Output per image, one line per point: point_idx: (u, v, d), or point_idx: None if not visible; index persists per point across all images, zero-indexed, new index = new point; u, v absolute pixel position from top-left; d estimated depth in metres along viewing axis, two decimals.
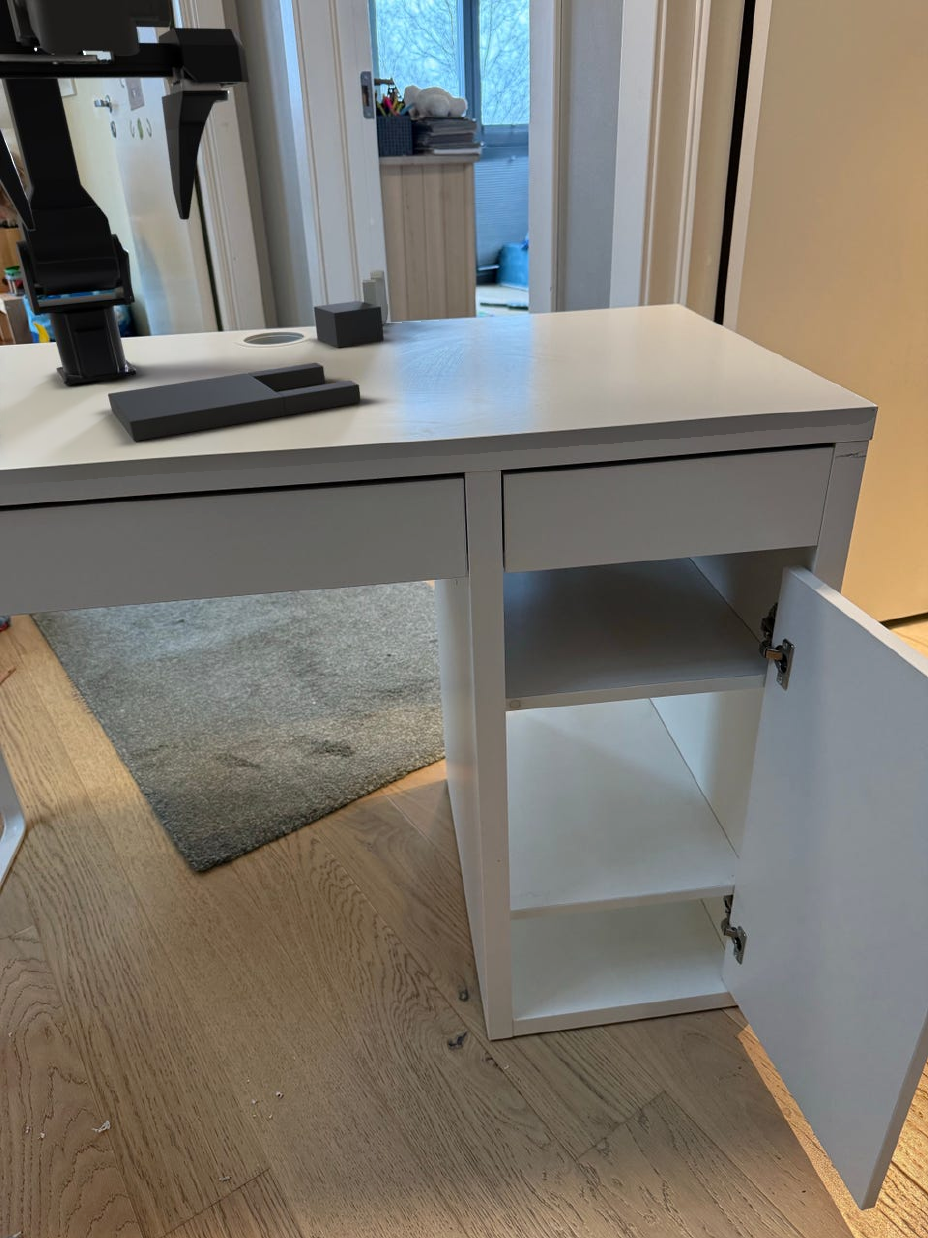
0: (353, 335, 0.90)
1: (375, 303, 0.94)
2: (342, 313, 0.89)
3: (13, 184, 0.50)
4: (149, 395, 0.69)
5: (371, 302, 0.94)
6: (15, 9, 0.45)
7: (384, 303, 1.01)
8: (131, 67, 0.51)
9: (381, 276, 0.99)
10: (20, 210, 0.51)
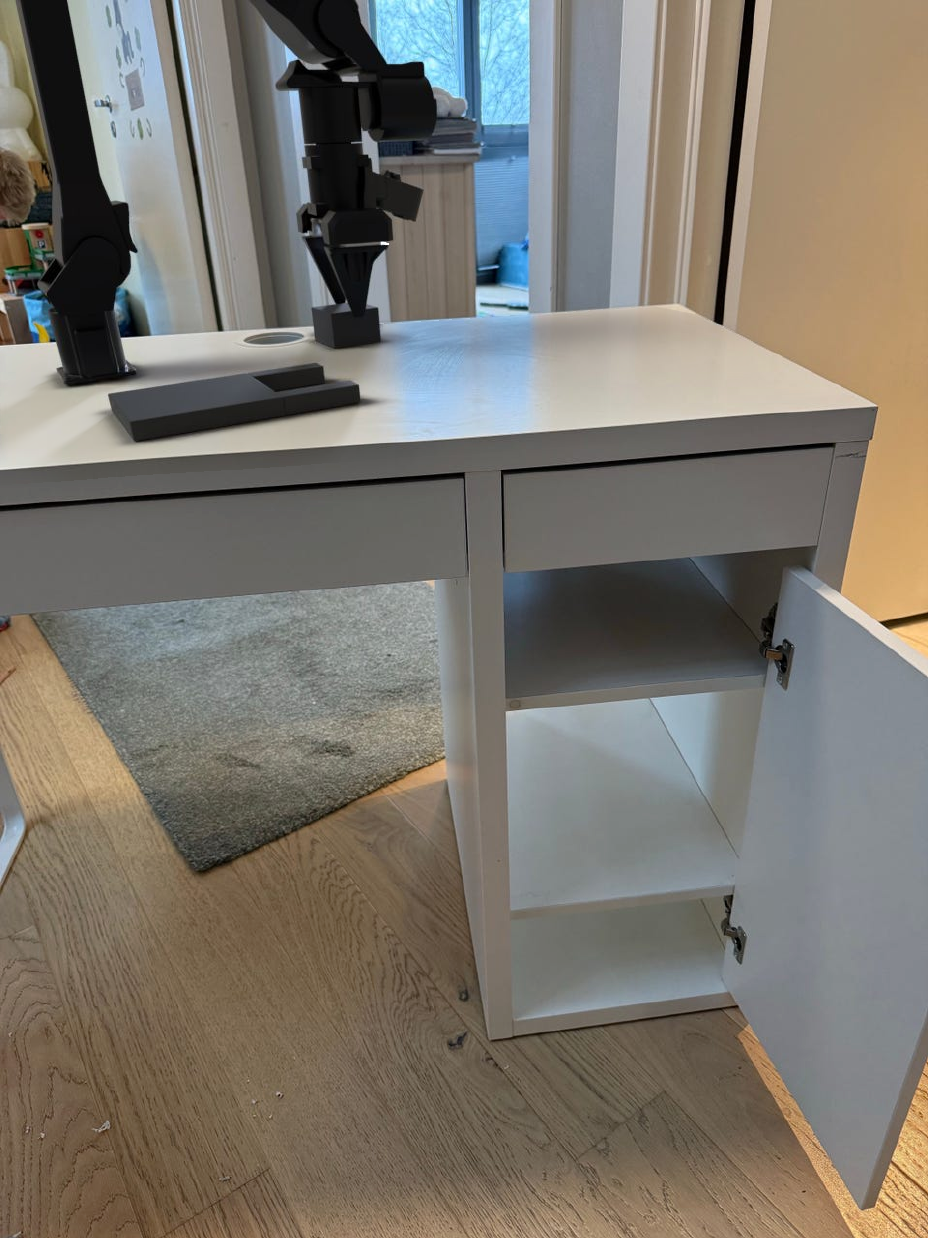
0: (350, 336, 0.90)
1: None
2: (339, 314, 0.88)
3: None
4: (149, 395, 0.69)
5: None
6: (375, 199, 0.85)
7: None
8: None
9: None
10: None
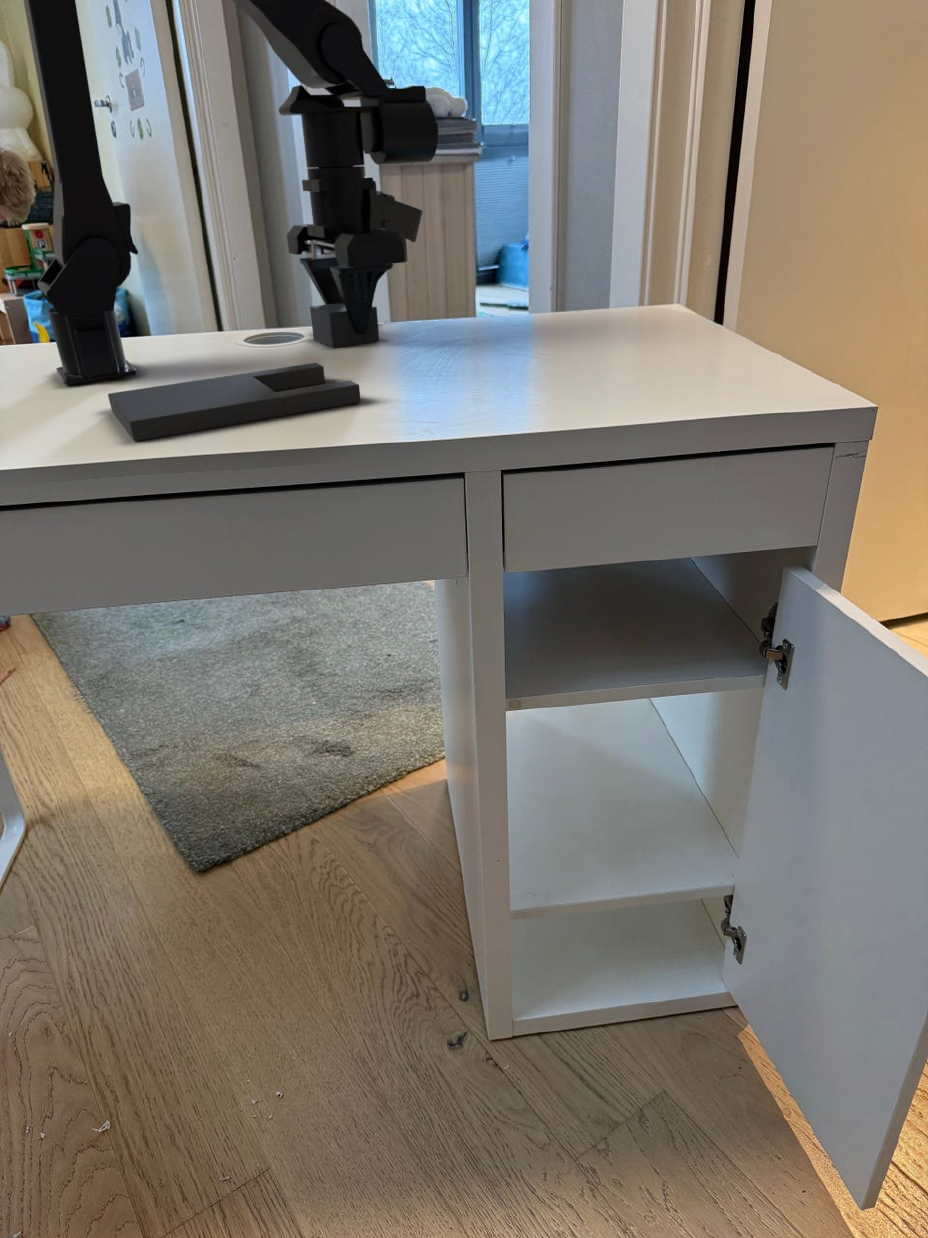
0: (349, 335, 0.90)
1: None
2: (337, 313, 0.89)
3: None
4: (149, 395, 0.69)
5: None
6: (380, 221, 0.87)
7: None
8: None
9: None
10: (368, 322, 0.90)
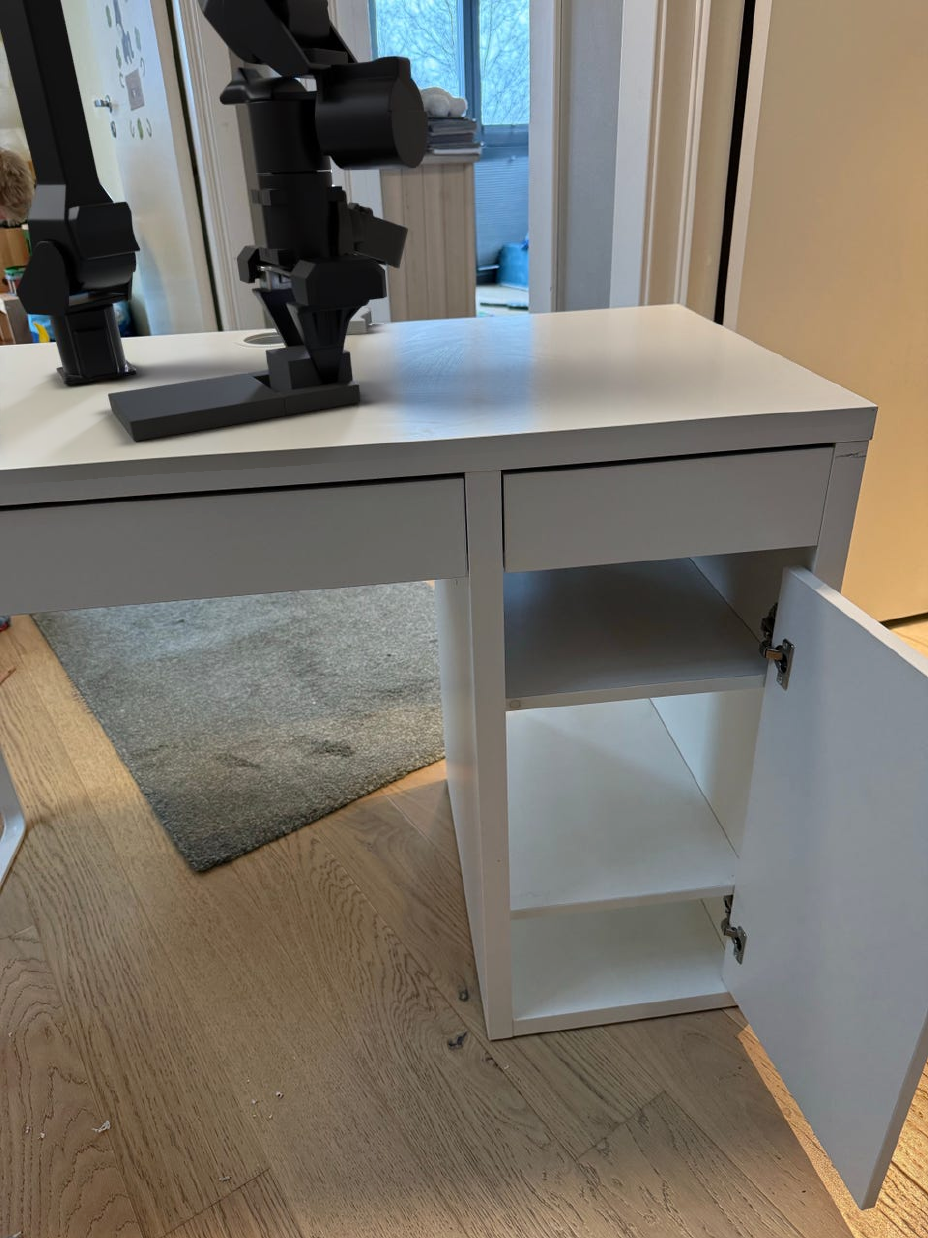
0: None
1: None
2: (299, 361, 0.68)
3: None
4: (149, 395, 0.69)
5: None
6: (352, 242, 0.67)
7: None
8: None
9: None
10: (338, 371, 0.70)
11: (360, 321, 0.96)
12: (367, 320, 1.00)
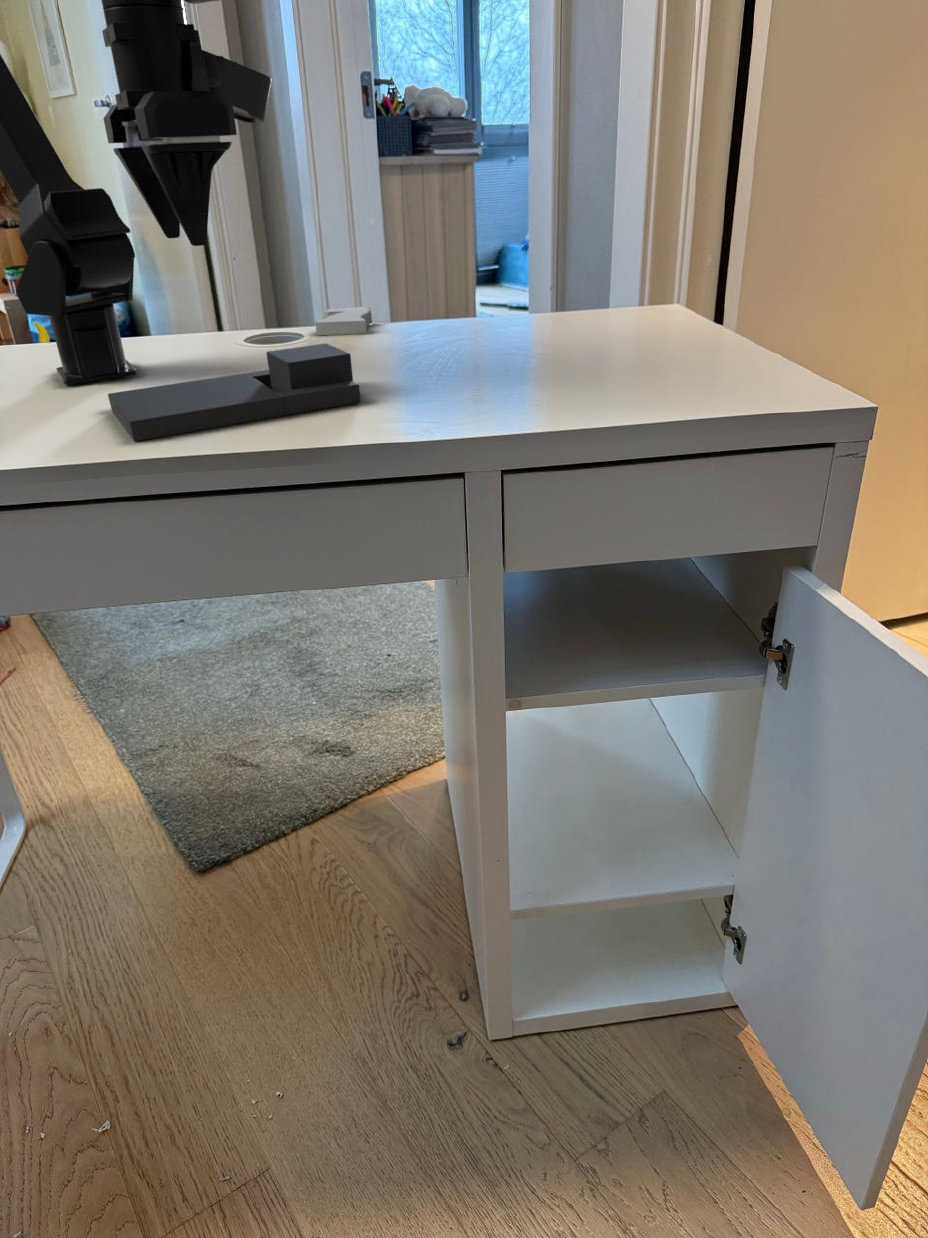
0: None
1: (335, 322, 0.96)
2: (299, 363, 0.69)
3: None
4: (149, 395, 0.69)
5: (335, 326, 0.96)
6: (208, 86, 0.65)
7: (352, 311, 1.01)
8: None
9: (327, 312, 1.02)
10: None
11: (360, 321, 0.96)
12: (367, 320, 1.00)
